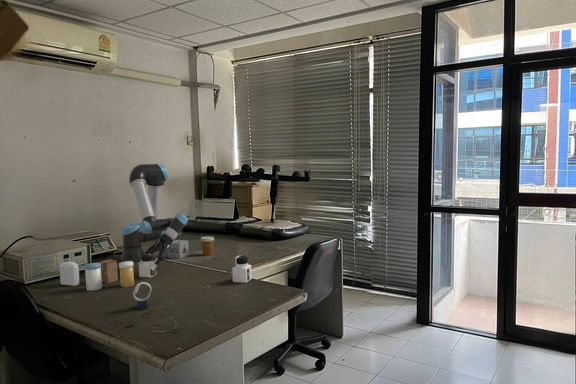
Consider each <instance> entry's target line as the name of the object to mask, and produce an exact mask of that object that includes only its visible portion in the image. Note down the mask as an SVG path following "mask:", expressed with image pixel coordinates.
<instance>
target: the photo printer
mask: <svg viewBox="0 0 576 384" xmlns="http://www.w3.org/2000/svg"><path fill="white" fill-rule="evenodd" d="M79 269H80V268H79V264H77V262H74V261H64V262H61V263H60V264H59V278H60V279H59V280H60V281H59V282H60V284H61V285H64V286H74V287H76V286H78V285H80V271H79Z"/></svg>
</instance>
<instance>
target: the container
mask: <svg viewBox="0 0 576 384" xmlns="http://www.w3.org/2000/svg"><path fill="white" fill-rule="evenodd" d="M234 261H235V265H234V266H232V269H231V270H232V271H231V273H232V282H233V283H243V284H246V283H248V282H250V280H252V279H253V273H252V270H253V269H252V264H249V258H248V256H247V255H237V256H236V257H235V259H234Z"/></svg>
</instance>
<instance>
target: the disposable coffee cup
mask: <svg viewBox="0 0 576 384" xmlns="http://www.w3.org/2000/svg"><path fill="white" fill-rule="evenodd" d="M214 241H215V237H214V236H210V235H209V236H201V237H200V242H201V249H202V254H203V255H202V256H206V257H210V256H213V254H214V244H215V242H214Z"/></svg>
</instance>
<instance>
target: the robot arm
mask: <svg viewBox="0 0 576 384" xmlns="http://www.w3.org/2000/svg"><path fill="white" fill-rule="evenodd" d="M128 180H129V181H128V182H129V186H130V187H131V188H132V190H133V194H134V197H135V200H136V202H137V206H138V207H137V208H138V209H139V212H140V216H141V220H142V221H141V222H140V223H131V224H128V225H125V226H124V227H122V232H121V235H122V246H123V247H122V254H121V257H120V260H121V262H125V261H133V263H135V262H138V266H139V265H140V264H142V256H143V255H146V254H151V255H153V254H155V253H156V252H158V254H157V256H156V258H155V260H153V263H152V265H151V266H150V267H149V268H150V269H152V270H154V269H155V268H156V266H159V264H160V262H162V261H165V259H166V257H167V256H168V250H169V248H170V245H171V244H172V242H173V241H175V240H176V238H178V235H179V234H180V233H181V232H182V230H183V229H184V227H185V226H187V223H188V222H189V219H188V217H187V216H186V215H185V214H183V213H177V214H176V215H175V217H167V218H161V217H160V216H161V206H162V205H161V204H162V203H161V201H162V187H163V186H165V182H168V180H169V173H168V169H167V167H166V165H165V164H162V163H149V164H147V163H145V164H144V163H141V164H138V165H136V166H134V167H133V168H132V170H131V171H130V173H129V179H128ZM150 242H154V243H153V244H152V245H151V246H149V248H147V249H146V251H144V248H143V243H150Z"/></svg>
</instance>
